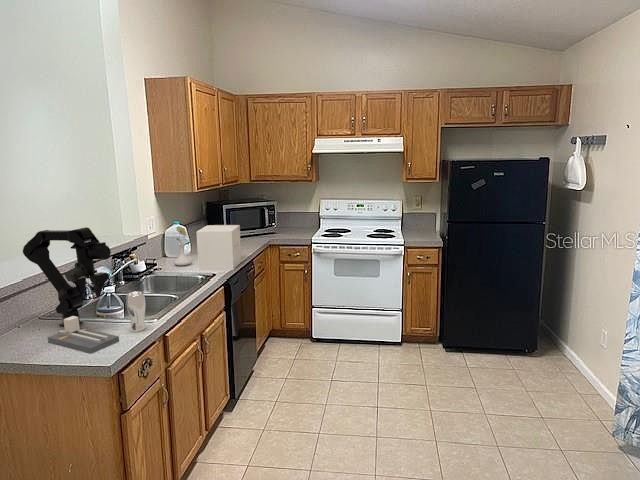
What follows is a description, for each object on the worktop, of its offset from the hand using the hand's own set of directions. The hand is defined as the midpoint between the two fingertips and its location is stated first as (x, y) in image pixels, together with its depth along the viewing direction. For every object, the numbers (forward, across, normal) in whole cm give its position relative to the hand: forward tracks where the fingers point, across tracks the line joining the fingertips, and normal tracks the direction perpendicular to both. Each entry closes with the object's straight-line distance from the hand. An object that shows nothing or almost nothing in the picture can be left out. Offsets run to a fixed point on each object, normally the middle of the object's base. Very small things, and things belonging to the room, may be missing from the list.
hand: (90, 296), depth 186 cm
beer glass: (+14, +19, +6) cm, 24 cm away
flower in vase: (+12, -43, +99) cm, 109 cm away
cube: (+14, -19, +107) cm, 110 cm away
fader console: (+13, +10, -12) cm, 21 cm away
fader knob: (+11, +4, -12) cm, 17 cm away
